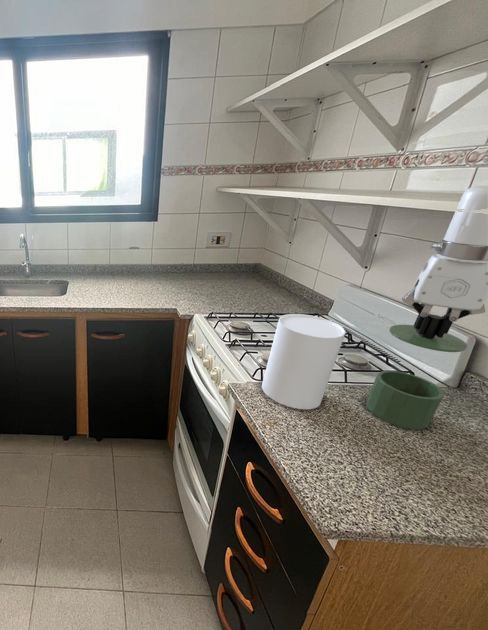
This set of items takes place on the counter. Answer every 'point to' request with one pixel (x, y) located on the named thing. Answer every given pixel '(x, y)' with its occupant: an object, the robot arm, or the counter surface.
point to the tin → (404, 399)
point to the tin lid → (429, 336)
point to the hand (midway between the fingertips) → (428, 332)
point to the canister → (302, 360)
